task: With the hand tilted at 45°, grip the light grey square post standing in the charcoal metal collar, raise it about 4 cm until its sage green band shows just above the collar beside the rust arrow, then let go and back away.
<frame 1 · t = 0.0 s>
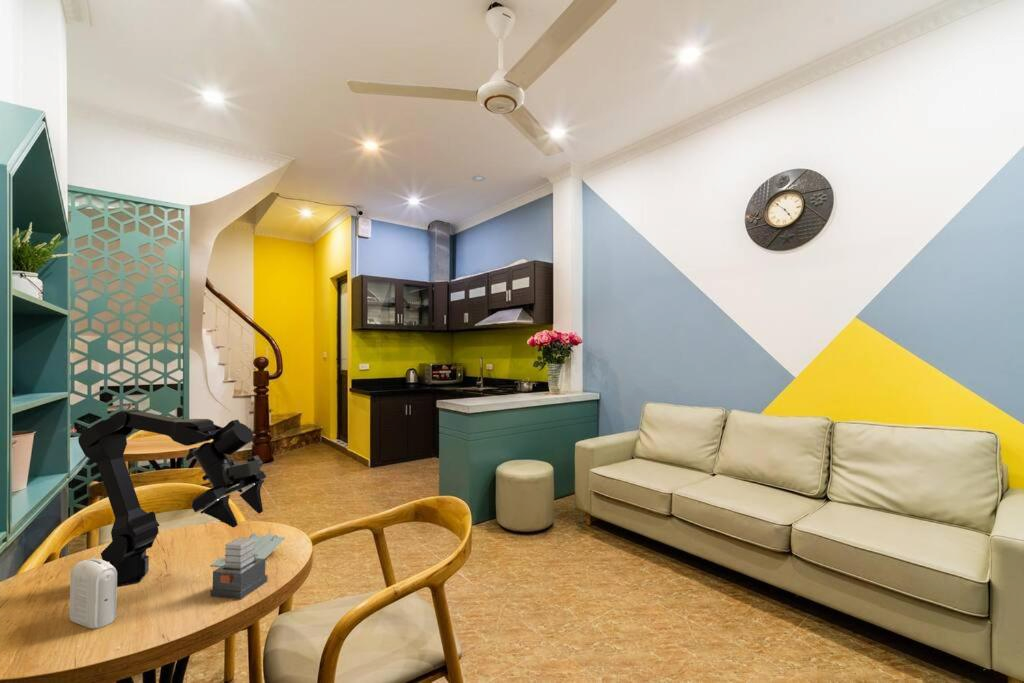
hand: (248, 519, 106), 15 cm above the table, tool tilted 35°, fingers open, 9 cm apart
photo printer: (92, 621, 90), on the table
column: (239, 560, 102), point 7 cm above the table, slide at 0.0 cm
collar: (239, 588, 102), on the table
metal bracket: (253, 560, 119), on the table
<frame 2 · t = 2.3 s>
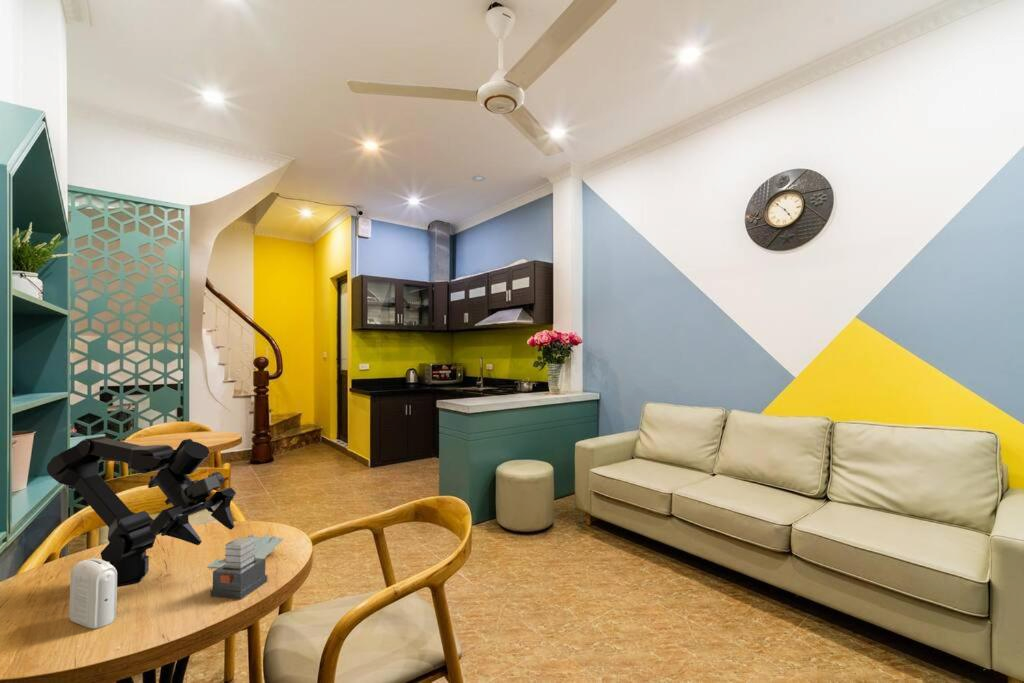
hand: (217, 535, 104), 12 cm above the table, tool tilted 45°, fingers open, 9 cm apart
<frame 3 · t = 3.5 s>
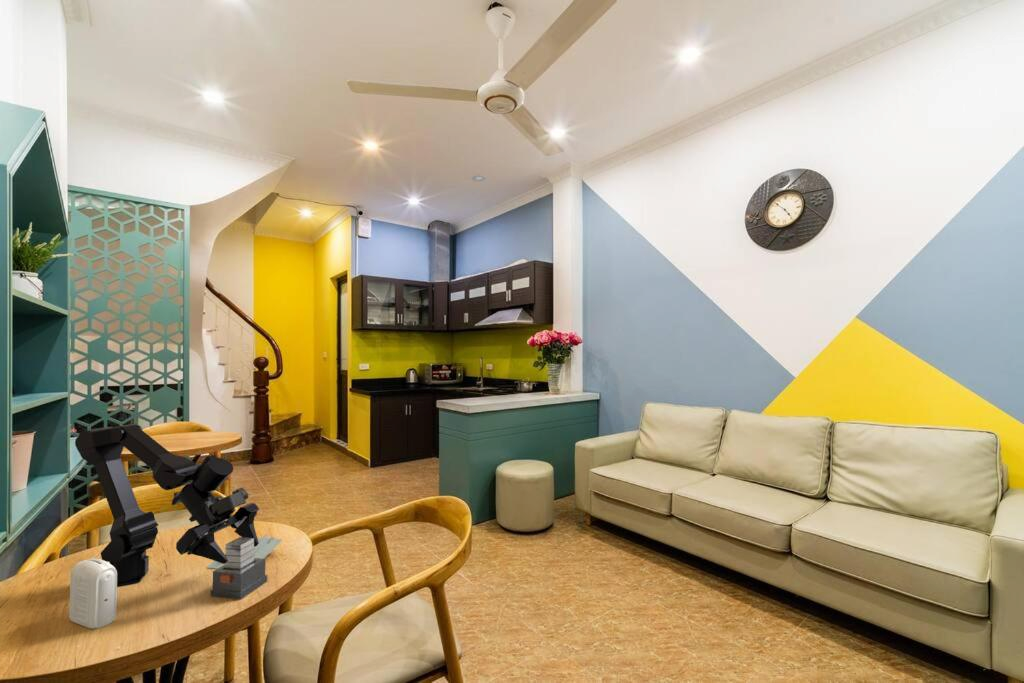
hand: (242, 553, 102), 8 cm above the table, tool tilted 45°, fingers open, 9 cm apart
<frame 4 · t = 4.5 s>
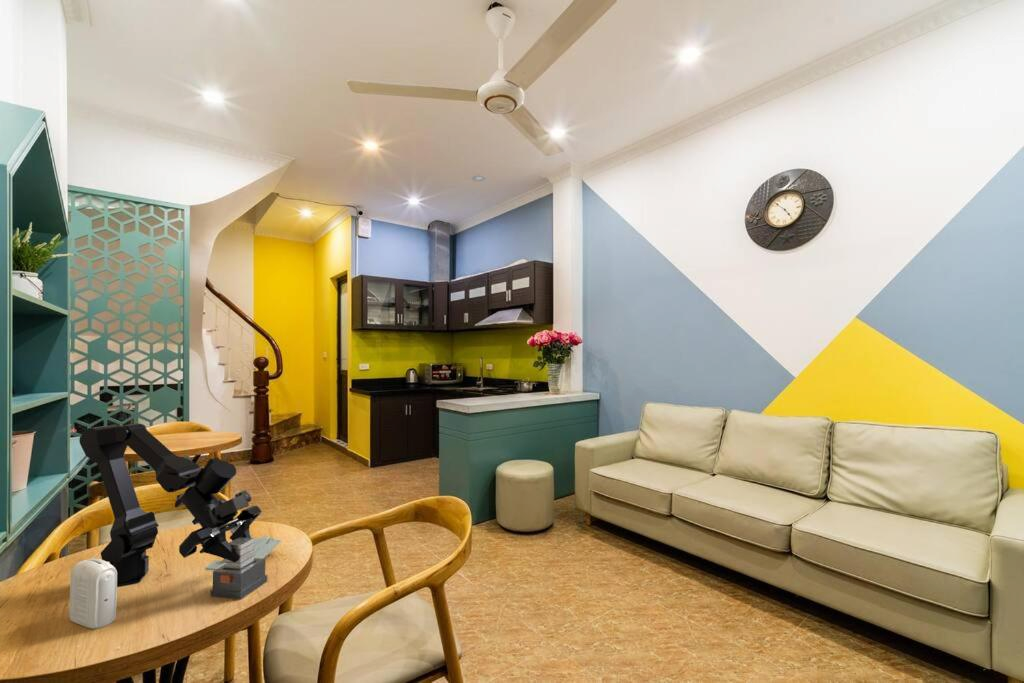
hand: (245, 556, 102), 8 cm above the table, tool tilted 45°, fingers closed on column, 4 cm apart
column: (239, 560, 102), point 6 cm above the table, slide at 0.0 cm, touching gripper
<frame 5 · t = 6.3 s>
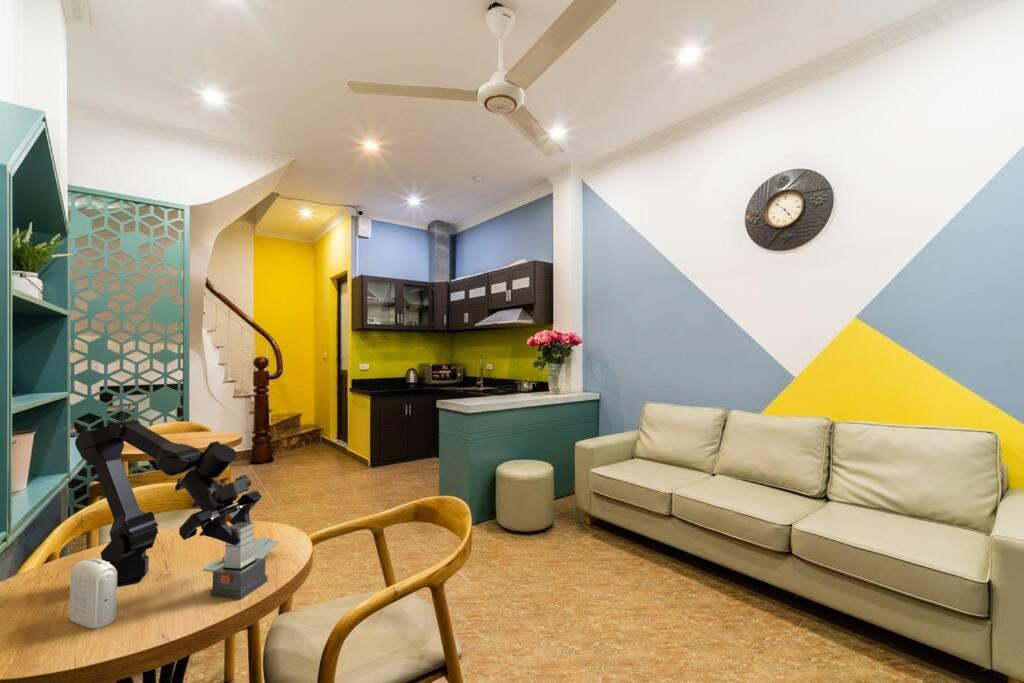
hand: (244, 540, 102), 11 cm above the table, tool tilted 45°, fingers closed on column, 4 cm apart
column: (239, 544, 102), point 10 cm above the table, slide at 3.7 cm, touching gripper
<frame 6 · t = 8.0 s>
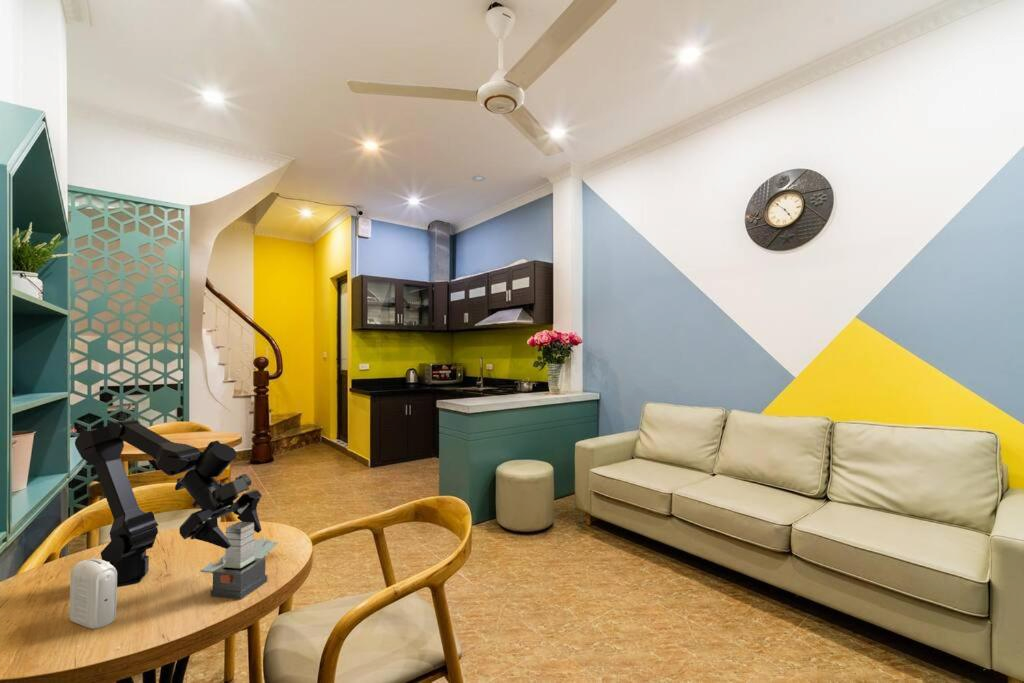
hand: (245, 539, 102), 12 cm above the table, tool tilted 45°, fingers open, 9 cm apart
column: (239, 544, 102), point 10 cm above the table, slide at 3.7 cm
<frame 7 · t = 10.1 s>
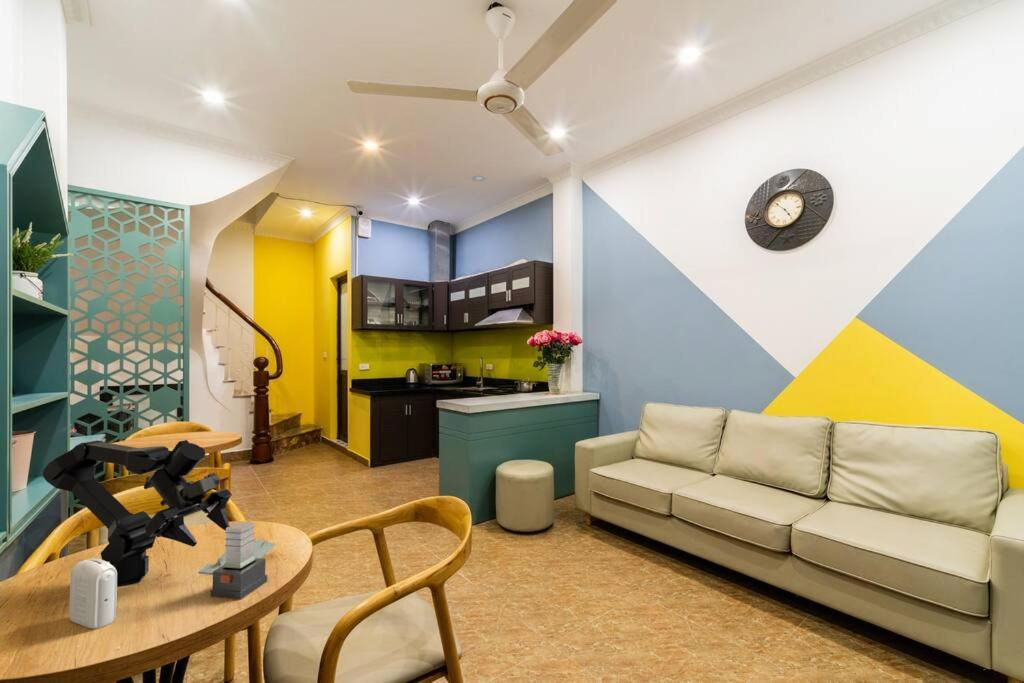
hand: (212, 537, 104), 12 cm above the table, tool tilted 45°, fingers open, 9 cm apart
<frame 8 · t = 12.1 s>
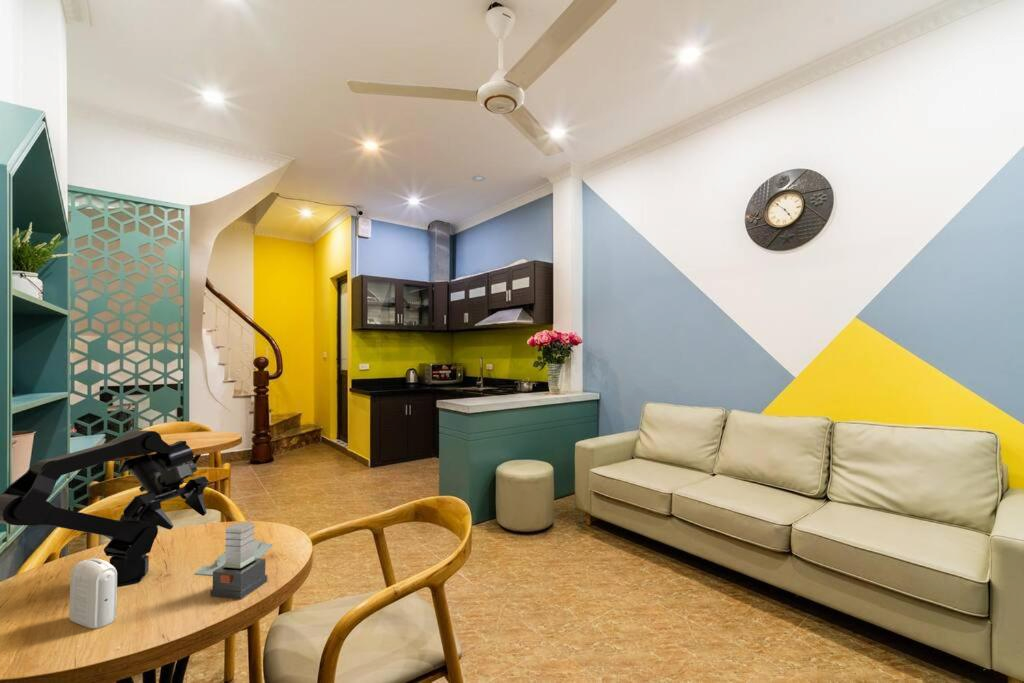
hand: (188, 521, 109), 14 cm above the table, tool tilted 45°, fingers open, 9 cm apart
at the end: column slide at 3.7 cm; the gripper is holding nothing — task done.
